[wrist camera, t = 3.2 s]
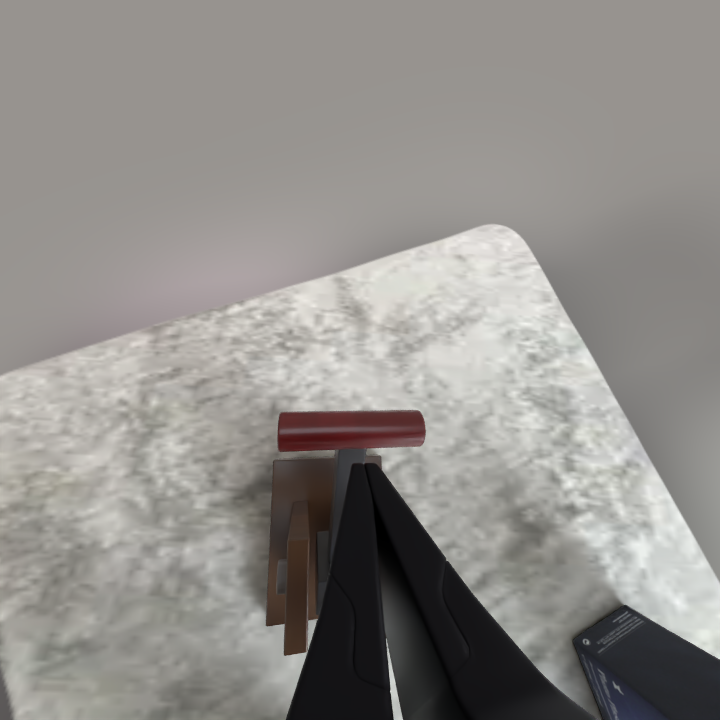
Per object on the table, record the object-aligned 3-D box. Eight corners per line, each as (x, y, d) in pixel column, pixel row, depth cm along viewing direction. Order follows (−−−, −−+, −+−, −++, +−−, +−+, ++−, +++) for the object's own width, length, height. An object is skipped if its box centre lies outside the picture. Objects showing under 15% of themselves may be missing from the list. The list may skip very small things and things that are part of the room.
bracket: (275, 458, 21) (257, 477, 13) (377, 454, 23) (416, 468, 15) (268, 615, 19) (240, 751, 11) (382, 598, 20) (432, 707, 12)
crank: (281, 397, 11) (274, 437, 9) (412, 397, 12) (434, 432, 10) (285, 567, 16) (281, 621, 13) (380, 556, 17) (390, 604, 15)
